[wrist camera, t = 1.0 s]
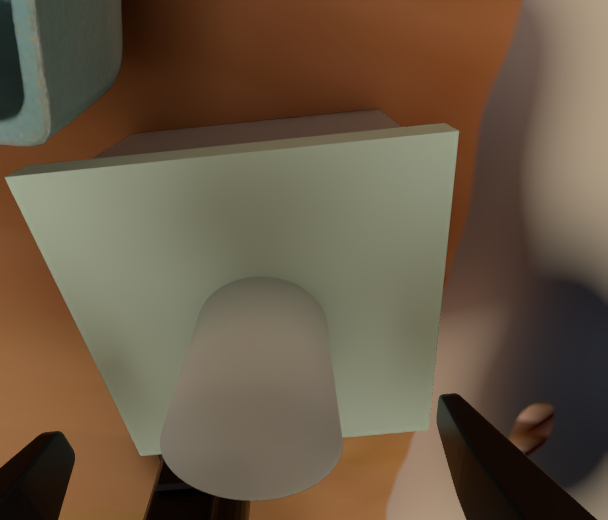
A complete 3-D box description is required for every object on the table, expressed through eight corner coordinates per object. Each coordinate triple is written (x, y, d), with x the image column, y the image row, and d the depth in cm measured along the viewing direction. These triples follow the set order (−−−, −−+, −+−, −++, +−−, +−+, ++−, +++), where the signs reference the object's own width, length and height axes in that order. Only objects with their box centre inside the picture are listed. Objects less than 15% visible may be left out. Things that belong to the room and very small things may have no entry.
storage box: (378, 308, 21) (408, 400, 15) (190, 326, 21) (157, 423, 16) (378, 108, 16) (424, 144, 10) (131, 134, 16) (54, 181, 11)
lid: (420, 407, 16) (471, 551, 11) (148, 432, 16) (95, 583, 11) (444, 122, 10) (561, 186, 6) (28, 165, 10) (-161, 258, 6)
